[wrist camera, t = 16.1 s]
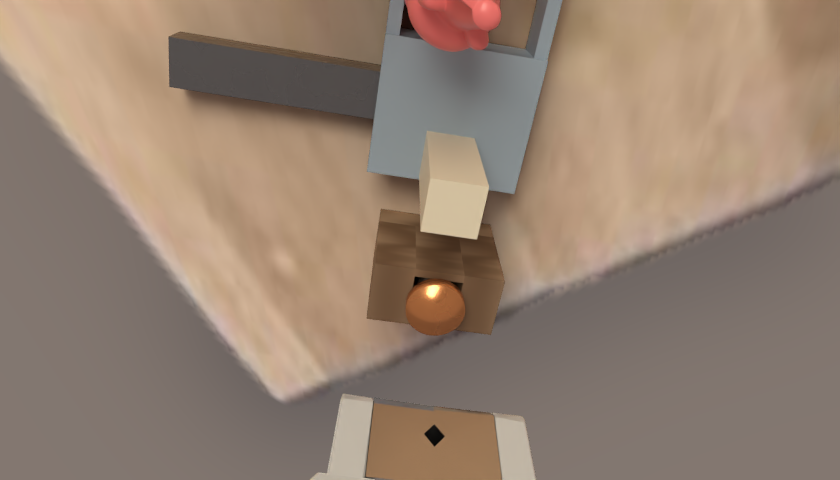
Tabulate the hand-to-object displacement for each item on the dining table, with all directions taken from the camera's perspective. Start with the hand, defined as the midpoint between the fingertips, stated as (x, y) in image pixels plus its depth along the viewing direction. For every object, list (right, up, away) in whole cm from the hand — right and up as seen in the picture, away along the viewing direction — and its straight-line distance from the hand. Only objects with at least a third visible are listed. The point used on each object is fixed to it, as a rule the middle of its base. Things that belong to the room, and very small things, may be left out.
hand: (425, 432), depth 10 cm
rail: (-4, +13, +30) cm, 33 cm away
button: (+1, +2, +33) cm, 33 cm away
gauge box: (+1, +3, +35) cm, 35 cm away
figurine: (+1, +19, +27) cm, 33 cm away
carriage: (+3, +15, +28) cm, 32 cm away
